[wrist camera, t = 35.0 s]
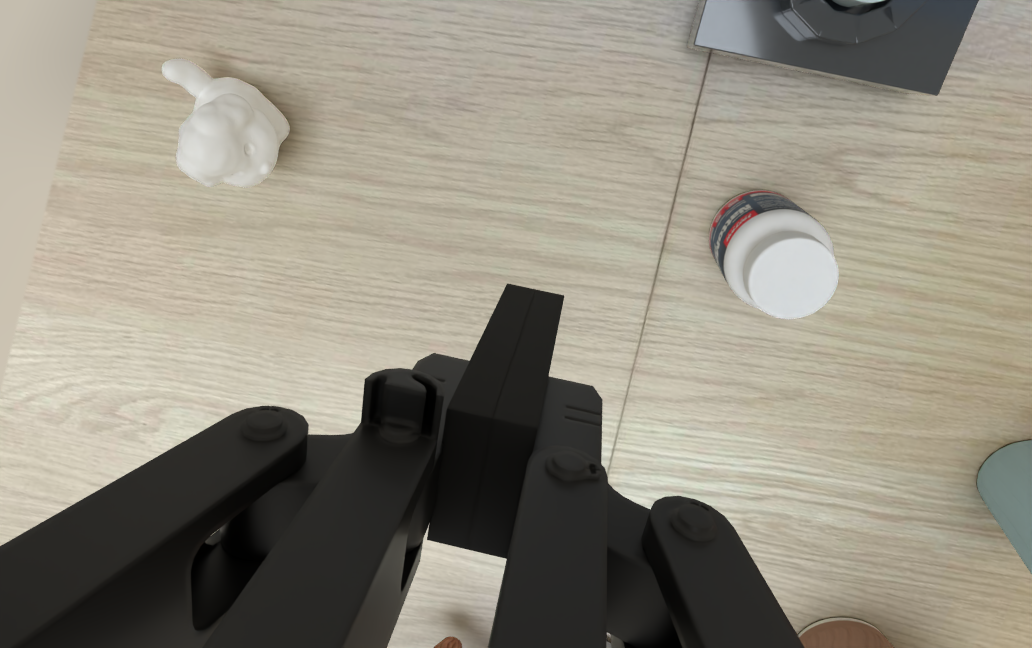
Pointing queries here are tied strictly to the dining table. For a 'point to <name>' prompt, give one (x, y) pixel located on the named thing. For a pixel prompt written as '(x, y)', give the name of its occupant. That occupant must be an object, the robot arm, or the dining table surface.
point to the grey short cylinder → (856, 2)
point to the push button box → (840, 38)
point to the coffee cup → (843, 634)
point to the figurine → (226, 128)
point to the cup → (1010, 494)
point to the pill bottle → (774, 254)
